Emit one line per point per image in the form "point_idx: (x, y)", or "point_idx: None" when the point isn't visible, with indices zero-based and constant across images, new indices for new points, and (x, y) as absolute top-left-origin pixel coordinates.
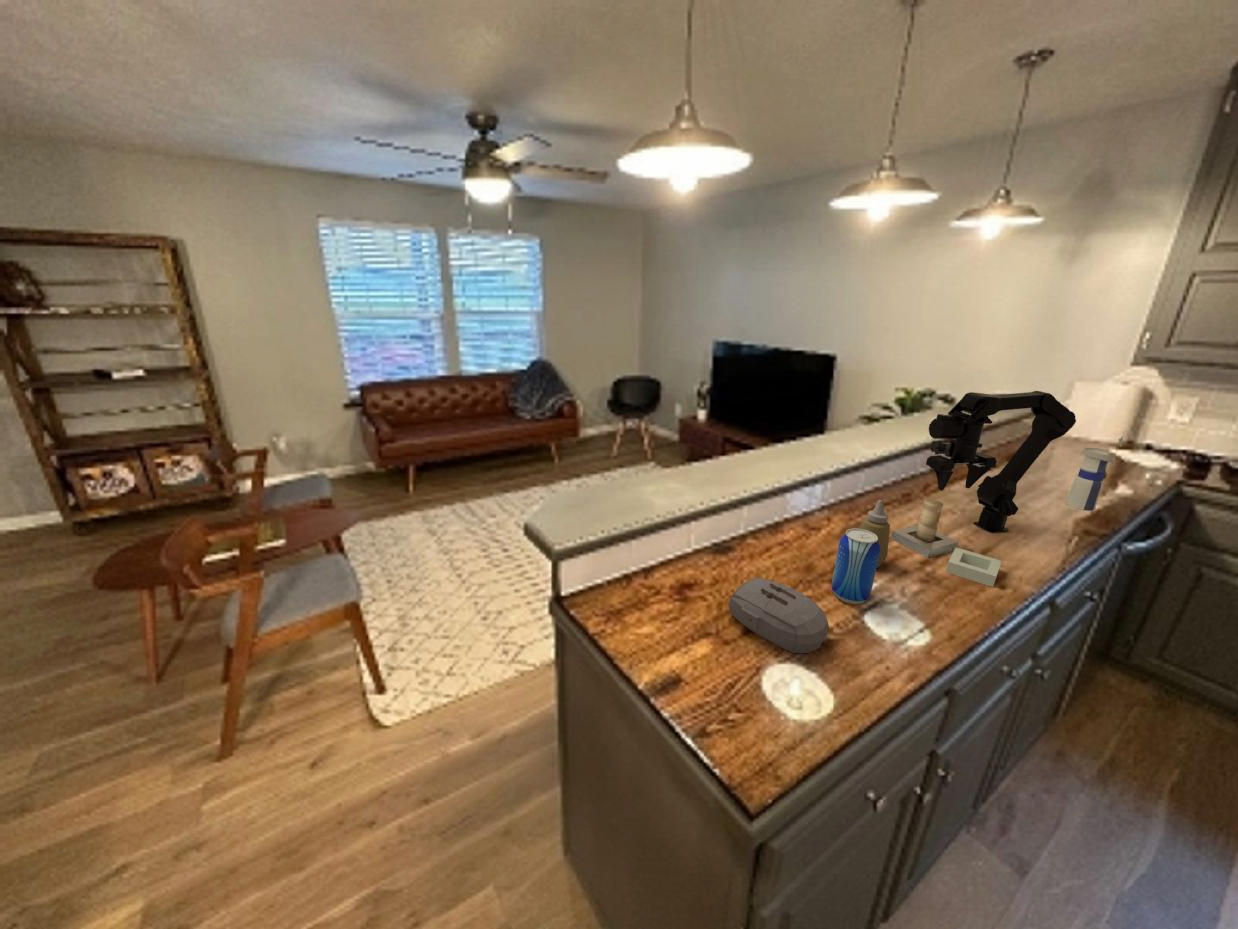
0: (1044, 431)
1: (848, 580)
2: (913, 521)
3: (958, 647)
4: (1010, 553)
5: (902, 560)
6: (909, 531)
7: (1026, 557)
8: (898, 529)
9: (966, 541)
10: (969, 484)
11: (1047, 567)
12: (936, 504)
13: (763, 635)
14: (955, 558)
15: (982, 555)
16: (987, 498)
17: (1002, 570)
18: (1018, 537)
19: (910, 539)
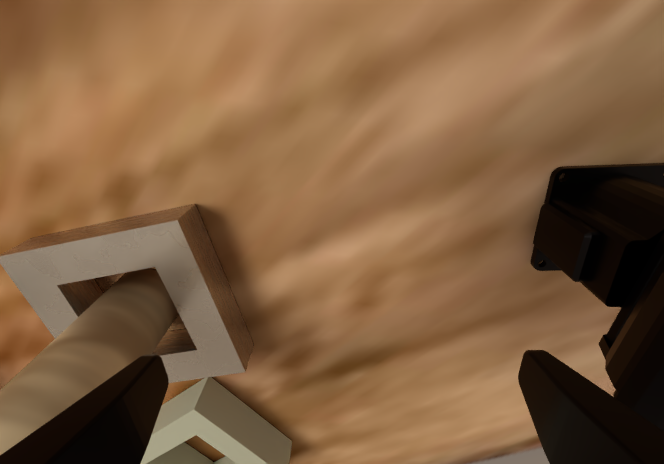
0: None
1: None
2: (238, 87)
3: None
4: (431, 384)
5: (23, 365)
6: (78, 275)
7: (457, 407)
8: (30, 251)
9: (348, 302)
10: (546, 432)
11: (457, 448)
12: None
13: None
14: (145, 452)
15: (250, 452)
16: (641, 352)
17: (307, 440)
18: (604, 308)
19: (52, 331)
